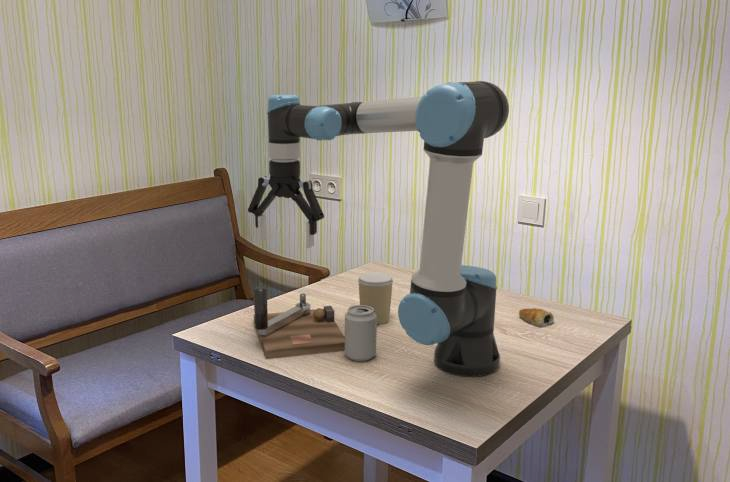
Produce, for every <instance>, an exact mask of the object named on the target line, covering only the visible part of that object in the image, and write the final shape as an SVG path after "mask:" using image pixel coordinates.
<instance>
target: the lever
mask: <svg viewBox="0 0 730 482" xmlns="http://www.w3.org/2000/svg"><path fill="white" fill-rule="evenodd" d="M306 297H307V295H306V293H300V294H299V303H296V304H295V306H293V307H292V308H290V309H287V310H286V311H283V312H284V313H282V312H281V313H282V314H280V315H278V316H276V317H274V318H272V319H271V320H269V321H268V314H269V312H268V289H267V287H266V286H256V287H253V313H254V315H253V317H254V316H255V324H254V329H258V333H257V335H258V334H261V335H265V336H266V335H268V334H270V333H271V332H273V331H275V330H277V329H279V328H281V327H282V326H284V325H286V324H288V323H290V322H291V321H293V320H295V319H297V318H299V317H301V316H302V315H307V314H309V313H310V312H311V310H312V309H311V303H308V302H307V298H306Z"/></svg>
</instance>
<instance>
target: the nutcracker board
mask: <svg viewBox="0 0 730 482" xmlns="http://www.w3.org/2000/svg"><path fill="white" fill-rule="evenodd" d="M310 310H311V312H310V313H309V314H307V315H302V316H301V317H299V318H297V319H295V320H293V321H291V322H290V323H288V324H286V325H284V326H282V327H281V328H279V329H277V330H275V331H273V332H271V333H270V334H268V335H266V336H265V335H261V334H258V329H256V333H257V336H258V339H259V342H260V345H261V349H262V351H263V354H264V358H265V359H266V360H268V359H275V358H276V359H277V358H286V357H295V356H304V355H305V356H306V355H315V354H323V353H325V354H326V353H334V352H343V351H344V352H345V334H344V333H343V331H342V329H341V328H340V327H339V326H338V324H337V322H336V321H335V309H334V308H333V307H332V305H323V308H319V307H318V308H316V309H310ZM284 312H285V311H283V312H274V313H268V321H269V320H271V319H272V318H274V317H276V316H278V315H280V314H282V313H284ZM253 324H254V325H255V316H254V315H253Z"/></svg>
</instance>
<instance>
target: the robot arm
mask: <svg viewBox="0 0 730 482" xmlns="http://www.w3.org/2000/svg"><path fill="white" fill-rule="evenodd" d="M509 113H510V105H509V101H508V98H507V96H506V94H505V92H504V91H503V90H502V89H501V88H500V87H499V86H497V85H496V84H494V83H492V82H488V81H484V80H479V81H455V82H453V81H452V82H451V81H449V82H445V83H442V84H438V85H435V86H433V87H431V88H430V89H428V90H427V91H426V92H425V93H424V94H423V95H422V96H414V97H402V98H393V99H392V98H391V99H381V100H368V101H354V102H353V101H352V102H346V103H335V104H321V105H307V104H305V105H304V104H303V105H302V104H301V102H300V97H299V96H298V95H296V94H271V95H270V96H269V97H268V98H267V111H266V114H267V131H268V133H267V134H268V159H270V160H269V161H268V174H269V178H268V176H265V175H264V176H260V177H259V178H258V179H257V187H256V190H255V191H254V194H253V197H252V199H251V201H250V204H249V206H248V208H247V211H248V213H251V214H252V215H254V217H255V218H254V221H255V228H257V230H258V232H257V233H258V234H257V235H258V237H257V238H258V242H264V241H266V240H267V235H268V234H267V215H266V214H264V213H265V211H266V210H267V209H268V207H269V206H270V205H271V203H272V202H273V201H274V200H275V199H276V198H285V199H291V200H292V201H294V202H295V204H296V205H297V207H298V208H299V209H300V210H301V212H302V213H303V215H304V216H305V217H306V219H307V220H308V221H306V222H305V248H306V249H310V248H312V247H314V246H315V235H317V233H318V225H317V224H318V222H319V221H321V220H322V219H324V218H325V215H324V212H323V210H322V208H321V206H320V203H319V200H318V199H317V196H316V194H315V191H314V189H313V182H312V180H309V179H308V180H307V181H301V179H300V175H301V161H300V160H299V159H300V157H301V156H300V155H301V151H300V150H301V149H300V148H301V146H300V145H301V143H300V142H301V140H300V139H301V138H304V139H312V140H316V141H331V140H334V139H335V138H336V137H340V136H348V135H361V134H365V135H366V134H378V133H379V134H380V133H397V132H399V133H401V132H403V133H404V132H419V136H420V139H422V140H423V151H424V152H425V154H426V155H427V157H429V169H428V179H427V189H426V197H425V198H426V200H425V210H424V219H423V230H422V241H421V251H420V262H419V269H418V270H417V271H415V272H414V273H413V274H412V275H411V278H410V289H409V293H407V294H406V295H404V297H403V298H402V299H401V300H400V302H399V304H398V308H397V315H398V320H399V324H400V326H401V327H402V329H403V330H404V331H405V333H406V335H407V336H408V337H409V338H411V339H412V340H413V341H415V342H416V343H418V344H421V345H424V346H432V345H436V346H435V349H434V354H433V356H434V357H433V362H434V365H435V367H437V368H438V369H439V370H441V371H443V372H446V373H447V374H451V375H455V376H460V377H468V378H469V377H484V376H488V375H490V374H493V373H495V372H496V371H498V369H499V368H500V364H501V363H500V361H501V360H500V359H501V356H500V353H499V352H500V351H499V349H498V345H497V341H496V337H495V334H494V331H495V329H494V328H495V315H496V301H497V300H496V299H497V289H498V287H497V276H496V273H494V272H493V271H492V270H490V269H487V268H485V267H484V268H483V267H479V266H473V265H464V264H462V262H463V254H464V253H463V252H464V247H465V239H466V238H465V237H466V228H467V218H468V211H469V201H470V196H471V194H470V193H471V184H472V178H473V167H474V163H475V162H476V161H477V160H478V159H479V158H480V157H482V155H483V151H484V150H483V149H484V141H485V139H488V138H491V137H492V136H494V135H496V134H497V133H499V132H500V131H501V130H502V129H503V128H504V127H505V125H506V122H507V121H508V118H509ZM268 186H269V187H270V188H271V189H270V191H268V193H267V196H266V197H265V198H264V199H263V196H264V194H265V193H266V189H267V187H268ZM300 188H301V190H302V191H303V193H304V194H303V193H302V192H301V190H300ZM304 196H305V197H304ZM262 199H263V200H262Z"/></svg>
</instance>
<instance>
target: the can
mask: <svg viewBox="0 0 730 482" xmlns="http://www.w3.org/2000/svg"><path fill="white" fill-rule="evenodd" d="M344 336H345V350H344V354H345V356H346V357H348V359H349V360H352V361H355V362H365V361H369V360H371V359H372V358H373V357H375V356H376V355H377V324H376V314H375V313H374V309H373V308H372V307H370V306H366V305H360V304H358V305H357V304H356V305H350V306H349V307H348V308H347V311H346V313H345V315H344Z"/></svg>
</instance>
